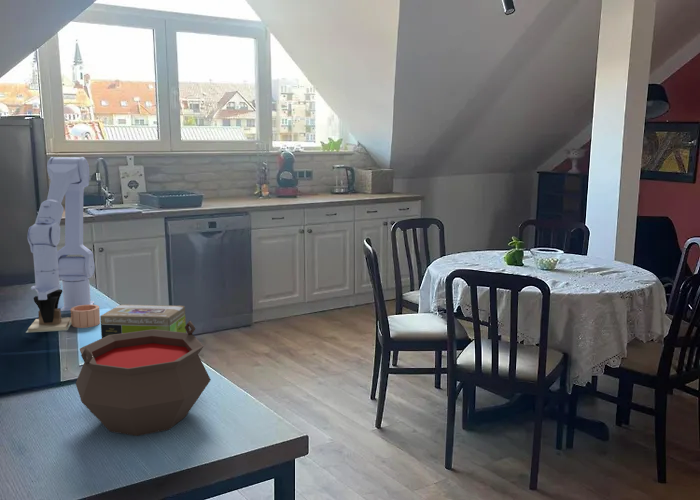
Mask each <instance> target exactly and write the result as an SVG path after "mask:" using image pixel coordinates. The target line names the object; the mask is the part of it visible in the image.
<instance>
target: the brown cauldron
mask: <svg viewBox="0 0 700 500" xmlns="http://www.w3.org/2000/svg"><path fill="white" fill-rule="evenodd" d="M185 329H186V333H183V332H174V331H165V330H156V329H152V330H145V331H137V332H129V333H121V334H114V335H108V336H106V337H104V338H102V337H101V338H100V339H97V340H95V341H93V342H91V343H89V344H87V345H84V346H82V347H80V348H79V352H80V354H81V355H80V356H81V358H82V360H83V364H82V366H81V369H80V371H79V374H78V376H77V378H76V381H75V386H76V388H77V389H76V390H77V392H78V395H79V398H80V401H81V403H82V404H83V405H84V406H85V408H87V409H88V410H89V412H91V413H92V414H93V416H94V417H96V418H97V419H98V420H99V422H101V424H102V425H103V426H104V427H105V428H106V429H107V430H108V431H109V432H111V433H116V434H122V435H127V436H133V437H134V436H136V437H139V436H143V435H148V434H154V433H159V432H163V431H168V430H171V429H172V428H173V427H174V426H176V425H177V424H178V423H180V422H181V421H183V420H184V419H185V418H186V417H187V415H188V414H189V412H190V411H191V409H192V408H193V407H194V405H195V404H196V402H197V401H198V399H199V398H200V396H201V395H202V393H203V392H204V391H205V389H206V387H207V386H208V385H209V384H210V382H211V377H210V376H209V373H208V372H207V369H206V368H205V366H204V364H203V361H202V360H201V357H200V355H199V354H200V352H201V351H202V350H203V348H204V347H205V346H204V344H203V343H202V342H201V341H200V340H199V339H198V338H197V337H196V336H195V335H194V334H193V333H194V332H195V331H196V326H195V324H194V323H193V322H192V321H191V320H189V321H188V322H187V323H186V326H185Z"/></svg>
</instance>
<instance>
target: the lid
mask: <svg viewBox="0 0 700 500" xmlns="http://www.w3.org/2000/svg"><path fill="white" fill-rule="evenodd" d="M61 309H62V308H61V307H60V308H57V309H54V319H53V322H52V323H44V322H43V319H42V316H41V313H40V310H39V309H38V311H37V312H38V313H37V315H38V318H35V320H33V321H32V323H31V325H30V326H29V327H28V328H27V330H28V333H34V332H33V331H46V332H52V331H51V330H64V331H67V330H66V329H67V327H68V325H69V324H70V322H71V316H70V317H62V311H61Z"/></svg>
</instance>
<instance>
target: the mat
mask: <svg viewBox="0 0 700 500" xmlns="http://www.w3.org/2000/svg"><path fill="white" fill-rule="evenodd" d="M71 326H72V325H71V322H70V324H69V325H68V327H67V329H66V330H51V331H50V332H61V331H64V332H65V331H68V330H69V329H70V327H71ZM44 332H47V331H33V332H32V333H44ZM25 333H28V334H29V332H28V329H27V330H26V331H25Z"/></svg>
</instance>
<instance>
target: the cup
mask: <svg viewBox="0 0 700 500" xmlns="http://www.w3.org/2000/svg"><path fill="white" fill-rule="evenodd" d="M100 316H101V313H100V306H99V305H97V304H93V305H92V304H91V305H90V304H88V305H79V306H75V307H72V308H71V309H70V317H71V325H70V326H71V327H73V328H77V329H78V328H80V329H85V328H86V329H87V328H92V327H96V326H98V325H101V320H100Z"/></svg>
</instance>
